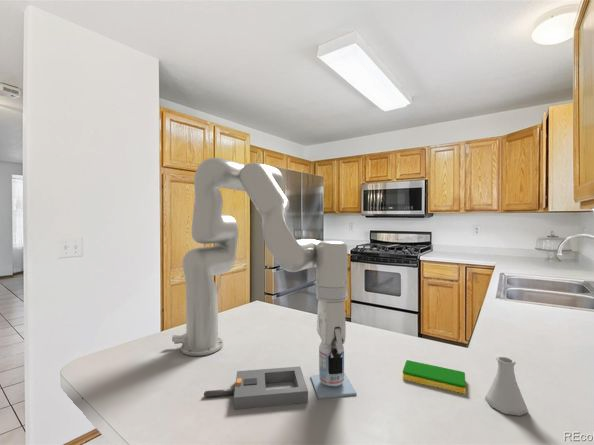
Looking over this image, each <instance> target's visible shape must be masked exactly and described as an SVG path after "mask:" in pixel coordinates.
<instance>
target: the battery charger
mask: <svg viewBox="0 0 594 445" xmlns="http://www.w3.org/2000/svg"><path fill="white" fill-rule="evenodd" d="M290 381H294V384H295V387H283V388H273V389H272V388H271V389H267V388H266V384H267V383H276V382H278V383H280V382H290ZM203 396H204V397H205V398H209V397H222V396H233V410H240V409H241V410H242V409H250V408H251V409H252V408H260V407H263V408H264V407H273V406H284V405H293V404H304V403H309V390H308V386H307V383H306V380H305V376H304V374H303V371H302V368H301V366H300V365H299V366H287V367H286V366H285V367H277V368H276V367H274V368H262V369H261V368H260V369H248V370H237V371H236V376H235V385H234V388H227V389H225V388H224V389H216V390H215V389H214V390H213V389H212V390H205V391H204V393H203Z"/></svg>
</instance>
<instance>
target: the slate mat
mask: <svg viewBox="0 0 594 445" xmlns="http://www.w3.org/2000/svg"><path fill="white" fill-rule="evenodd" d="M310 380H311V382H312V385H313V388H314V390H315V394H316V397H317V399H327V398H338V397H348V396H349V397H351V396H357V394H358V393H357V392H356V390H355V388H354V386H353V385H352V383H351V381H350V379H349V378H348V376H347V374H346V373H345V372H344V381H343V383H342V384H341V385H339V386H327V385H325V384H323V383H322V382H321V381H320V378H319V374H312V375H311V374H310Z"/></svg>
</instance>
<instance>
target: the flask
mask: <svg viewBox="0 0 594 445" xmlns="http://www.w3.org/2000/svg"><path fill="white" fill-rule="evenodd" d="M496 361H497V369H496V373H495V376H494V379H493V381H492V383H491V385H490V387H489V389H488V391H487V393H486V395H485V397H484V400H486V402H487V403H488V405H489V406H491V407H492V408H493V409H496V410H497V411H499V412H500V413H502V414H505V415H510V416H511V415H513V416H519V417H521V416H523V415H526V414H528V413H529V410H528V406H527V405H526V403H525V400H524V397H523V395H522V393H521V390H520V388H519V385H518V383H517V378H516V375H515V368H514V367H515V365H516V361H515V360H514V359H512V358H509V357H507V356H497V357H496Z"/></svg>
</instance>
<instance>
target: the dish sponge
mask: <svg viewBox="0 0 594 445" xmlns="http://www.w3.org/2000/svg"><path fill="white" fill-rule="evenodd" d="M404 363H405V364H404V367H403V369H402V379H403V380H405V381H407V382H413V383H417V384H422V385H425V386H429V387H433V386H434V388H437V387H440V388H439V389H441V388H443V389H442V390H445V389H448V390H447V391H449V390H452V391H451V392H453V391H456V392H455V393H457V392H460V393H459V394H461V393H466V394H467V391H466V390H467V389H466V388H467V387H466V384H467V383H466V373H465V372H464V371H460V370H457V369H452V368H448V367H447V368H446V367H443V366H438V365H437V366H436V365H432V364H429V363H423V362H417V361H413V360H409V359H407V360H405V362H404Z"/></svg>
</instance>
